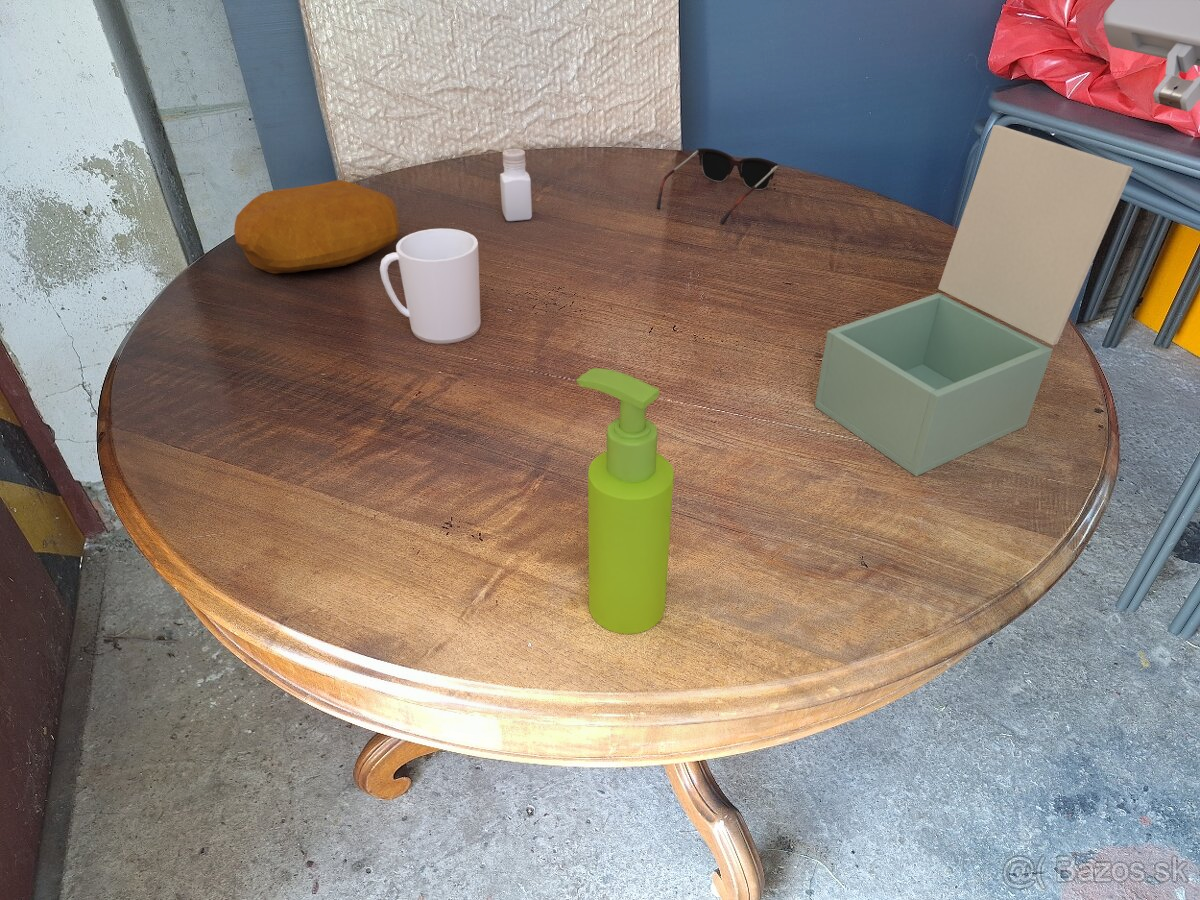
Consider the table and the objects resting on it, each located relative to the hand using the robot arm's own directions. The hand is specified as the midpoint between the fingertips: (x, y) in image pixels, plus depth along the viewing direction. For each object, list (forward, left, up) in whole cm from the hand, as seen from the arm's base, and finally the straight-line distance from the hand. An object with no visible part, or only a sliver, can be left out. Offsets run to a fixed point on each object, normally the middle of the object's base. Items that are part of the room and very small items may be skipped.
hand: (1169, 103), depth 76 cm
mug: (+68, +12, -30) cm, 75 cm away
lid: (+9, +3, -12) cm, 15 cm away
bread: (+91, +1, -30) cm, 95 cm away
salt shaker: (+74, -22, -30) cm, 82 cm away
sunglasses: (+49, -39, -30) cm, 69 cm away
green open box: (+14, +10, -29) cm, 34 cm away
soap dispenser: (+33, +45, -30) cm, 63 cm away
